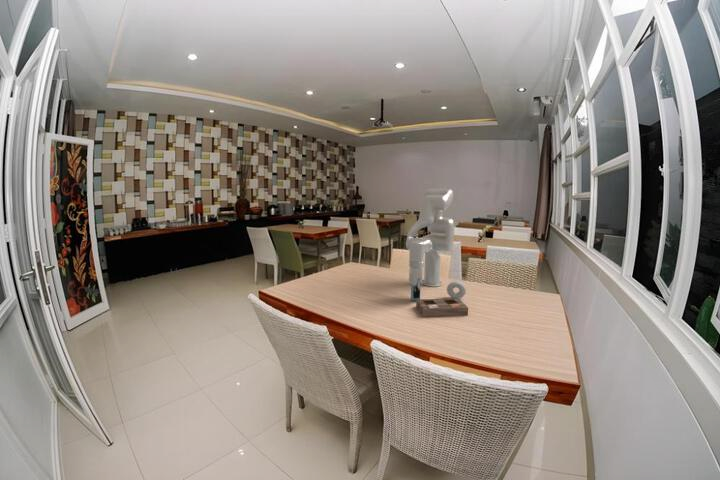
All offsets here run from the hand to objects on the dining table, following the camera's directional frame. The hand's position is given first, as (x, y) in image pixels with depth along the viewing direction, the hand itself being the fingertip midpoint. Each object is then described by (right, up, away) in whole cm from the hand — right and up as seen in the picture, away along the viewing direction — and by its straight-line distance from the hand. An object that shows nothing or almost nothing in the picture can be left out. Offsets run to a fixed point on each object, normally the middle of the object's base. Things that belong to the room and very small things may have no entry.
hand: (415, 295), depth 156 cm
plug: (0, -2, 0) cm, 2 cm away
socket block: (+10, -5, -14) cm, 18 cm away
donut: (+23, -2, +2) cm, 23 cm away
